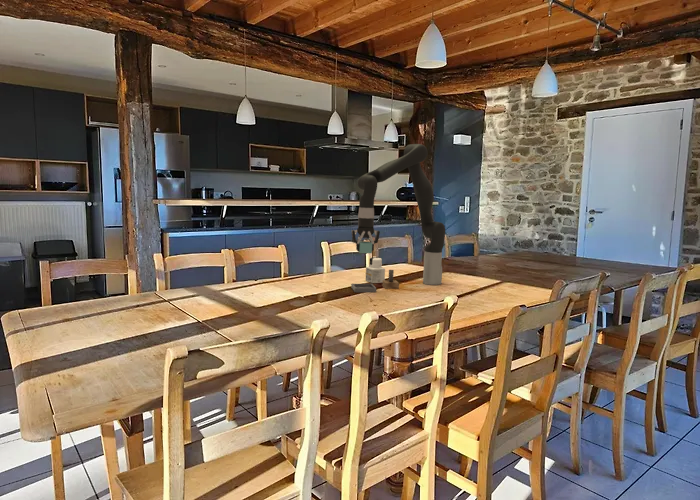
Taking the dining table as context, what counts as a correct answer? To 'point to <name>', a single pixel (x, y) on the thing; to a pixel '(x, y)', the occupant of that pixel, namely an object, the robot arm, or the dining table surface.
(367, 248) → the teal collar
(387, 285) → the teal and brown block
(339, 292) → the dining table surface
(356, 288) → the charcoal tray
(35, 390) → the dining table surface
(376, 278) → the container
